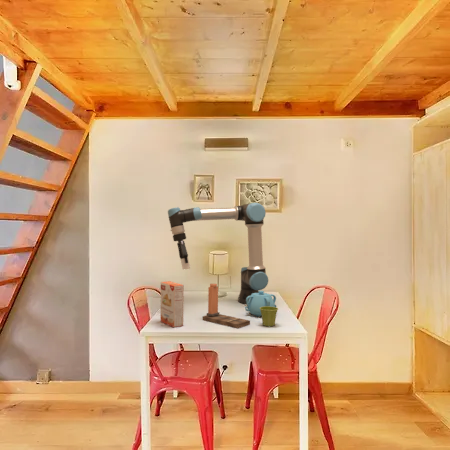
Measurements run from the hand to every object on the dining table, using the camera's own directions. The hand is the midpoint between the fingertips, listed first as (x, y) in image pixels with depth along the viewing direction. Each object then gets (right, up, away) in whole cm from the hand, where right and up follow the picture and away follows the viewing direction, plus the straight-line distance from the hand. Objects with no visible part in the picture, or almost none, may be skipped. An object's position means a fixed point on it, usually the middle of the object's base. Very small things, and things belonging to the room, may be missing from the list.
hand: (186, 269), depth 223 cm
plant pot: (+45, -25, -29) cm, 60 cm away
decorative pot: (+43, -25, -7) cm, 51 cm away
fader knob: (+16, -22, -19) cm, 34 cm away
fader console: (+23, -25, -25) cm, 42 cm away
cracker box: (-5, -25, -29) cm, 39 cm away
